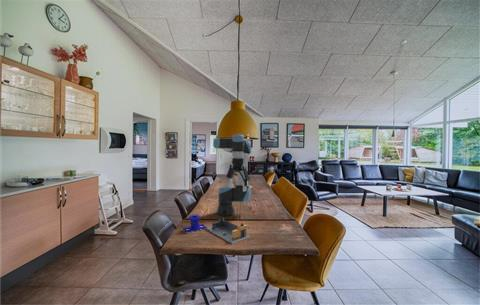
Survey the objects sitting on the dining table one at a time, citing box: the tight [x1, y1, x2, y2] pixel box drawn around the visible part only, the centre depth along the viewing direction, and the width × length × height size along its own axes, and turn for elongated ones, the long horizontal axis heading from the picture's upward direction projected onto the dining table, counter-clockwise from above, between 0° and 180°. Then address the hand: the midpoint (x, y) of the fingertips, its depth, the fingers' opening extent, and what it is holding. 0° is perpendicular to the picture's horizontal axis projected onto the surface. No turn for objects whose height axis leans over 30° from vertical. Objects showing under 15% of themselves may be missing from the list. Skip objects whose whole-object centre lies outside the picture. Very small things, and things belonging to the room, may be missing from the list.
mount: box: [181, 214, 208, 234], centre depth 145 cm, size 15×8×9 cm, turn 124°
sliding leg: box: [232, 222, 248, 239], centre depth 132 cm, size 3×11×7 cm, turn 132°
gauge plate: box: [205, 216, 250, 245], centre depth 139 cm, size 28×14×7 cm, turn 42°
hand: (237, 189), depth 141 cm, fingers open, 13 cm apart
